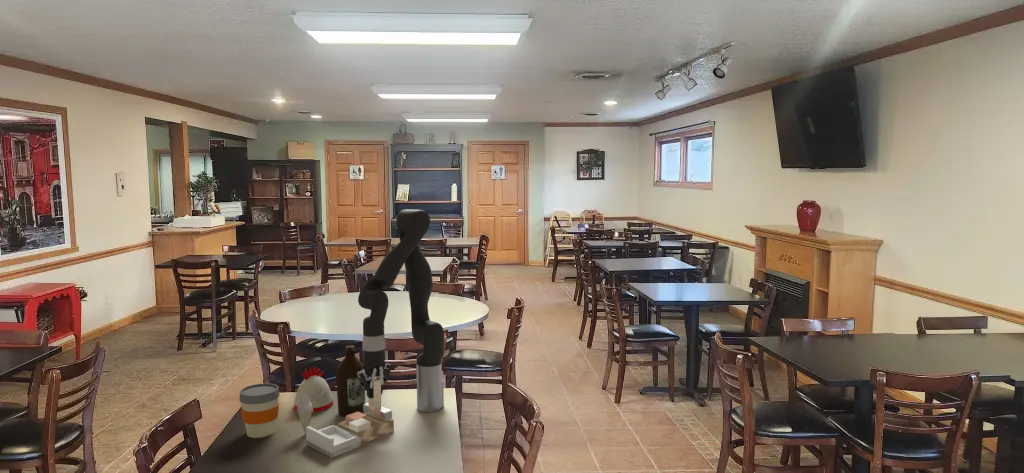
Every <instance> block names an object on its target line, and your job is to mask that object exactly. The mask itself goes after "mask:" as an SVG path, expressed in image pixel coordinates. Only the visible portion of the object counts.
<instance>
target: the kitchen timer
mask: <svg viewBox="0 0 1024 473" xmlns="http://www.w3.org/2000/svg"><path fill="white" fill-rule="evenodd" d="M320 371H321V369H320V368H316V366H313V369H312V367H310V368H309V371H308V369H307V368H305V370H304V373H303V372H301V375H302V377H303V381H302V382H301V383H300V385H299V387H298V388H297V391H296V394H295V397H294V410H295V411H298V410H297V408H298V405H299V403H300V402H301V398H302V396H303V394H304V392H305V394H306V396H307V397H308V399H309V402H311V403H312V409H313V411H312V413H317V412H322V411H325V410H328V409H330V408H332V407H333V405H334V397H333V394H332V391H331V389H330V386H329V384H328V382H327V381H326V380H325V379H324V378H323V375H324V371H323V370H322V371H321V372H320Z"/></svg>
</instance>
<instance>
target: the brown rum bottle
mask: <svg viewBox="0 0 1024 473" xmlns="http://www.w3.org/2000/svg"><path fill="white" fill-rule="evenodd" d="M355 348H356V347H355V345H346V346H345V351H344V352H345V356H344V358H343V359H342V360H341V361H340V363H338V365H337V366H336V370H335V383H336V395H337V413H338V415H339V417H342V418H346V415H349V414H352V413H355V412H360V413H363V404H366V387H363V386H361V384H360V381H359V379H358V377H357V375H356V372H360V371H361V370H362V369H363V366H364V362H363V361H361V360H360V359H358V357H357V356H356V349H355ZM365 378H366V373H365ZM363 414H364V413H363Z"/></svg>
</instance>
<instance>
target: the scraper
mask: <svg viewBox="0 0 1024 473" xmlns="http://www.w3.org/2000/svg"><path fill="white" fill-rule="evenodd" d="M372 388H373V398H372V399H371V398H368V402H365V404H363V414H365V413H366V414H368V415H370V416H373V417H375V418H378V419H380V420H382V421H388V420H391V419H393V410H391V409H390V408H387V407H384V406H382V395H381V380H380V379H377V378H375V381H374V382H373V387H372Z"/></svg>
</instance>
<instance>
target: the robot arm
mask: <svg viewBox="0 0 1024 473" xmlns="http://www.w3.org/2000/svg"><path fill="white" fill-rule="evenodd" d="M430 226H431V218H430V215H429V213H428V212H427V211H425V210H423V209H412V208H411V209H410V208H409V209H408V208H407V209H405V208H404V209H402V210H400V211H399V212H398V214H397V217H396V228H397V234H398V238H399V242H398V243H397V245H395V246H394V247H393V248H392V249H391V250H390V251H389V252H388V253H387V254H386V255H385V257H383V259H381V260H382V261H380V263H379V266H378V268H377V269H376V271H375V272H374V275H373V276H371V278H370V279H369V280H368V282H366V283H365V285H364V286H362V288H361V289H360V291H359V294H358V298H357V299H358V300H357V301H358V302H357V303H358V305H359V307H361V308H363V309H365V310H369V311H370V315H368V316H367V317H365V318H363V320H362V363H363V365H364V366H363V369H362V370H361V371H360V372H356V375H357V377H358V379H359V381H360V384H361V386H363V387H365V389H366V396H367V398H368V399H369V398H371V399H372V398H373V388H372V387H373V382H374V381H375V378H377V379H380V380H381V396H382V395H383V392H384V388H383V386H384V384H385V383H386V382H388V381H389V377H390V374H391V371H392V369H393V368H392V367H393V365H392V364H391V363H386V337H385V319H386V316H387V312H388V307H389V297H388V295H387V293H386V291H383V290H384V289H386V288H390V287H392V286H393V285H394V283H395V281H396V279H397V277H398V275H399V274H400V272H401V270H402V268H403V265H404V268H405V277H406V285H407V290H408V298H409V305H410V319H411V320H410V321H411V322H410V324H411V325H410V326H411V336H412V338H413V340H414V341H415V342H416V343H418V344H419V345H422V347H423V348H422V349H423V350H422V353H420V354H418V355H417V356H416V409H417V410H418V411H419V412H424V413H433V412H437V411H439V410H441V409H442V408H443V407H444V406H445V404H444V403H445V398H444V396H445V395H444V393H445V392H444V389H445V386H444V381H443V378H442V377H443V376H442V359H443V356H444V352H445V350H444V349H445V348H444V347H445V331H444V328H443V325H442V324H440V323H439V322H436V321H433V320H431V319H430V315H429V306H428V305H429V302H430V301H429V300H430V297H431V296H432V291H433V274H432V269H431V266H430V263H429V261H428V260H427V258H426V256H425V255H424V254H423V251H422V250H421V248H420V245H419V243H420V242H421V241H422V239H423V238H424V236H425V235H426V234H427V232H428V230H429V229H430ZM365 373H366V377H365Z"/></svg>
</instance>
